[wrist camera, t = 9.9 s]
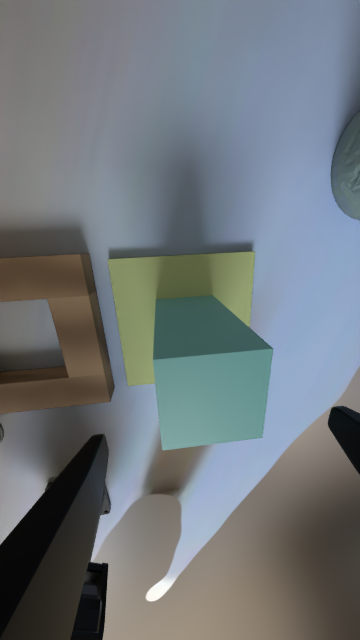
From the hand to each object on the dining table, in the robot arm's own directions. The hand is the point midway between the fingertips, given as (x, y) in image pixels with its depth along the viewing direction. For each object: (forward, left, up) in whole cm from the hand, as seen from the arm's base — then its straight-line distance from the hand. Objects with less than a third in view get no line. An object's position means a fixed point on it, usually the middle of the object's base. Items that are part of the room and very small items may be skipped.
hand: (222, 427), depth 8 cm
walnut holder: (0, +14, -12) cm, 18 cm away
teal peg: (0, 0, -11) cm, 11 cm away
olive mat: (0, 0, -12) cm, 12 cm away
